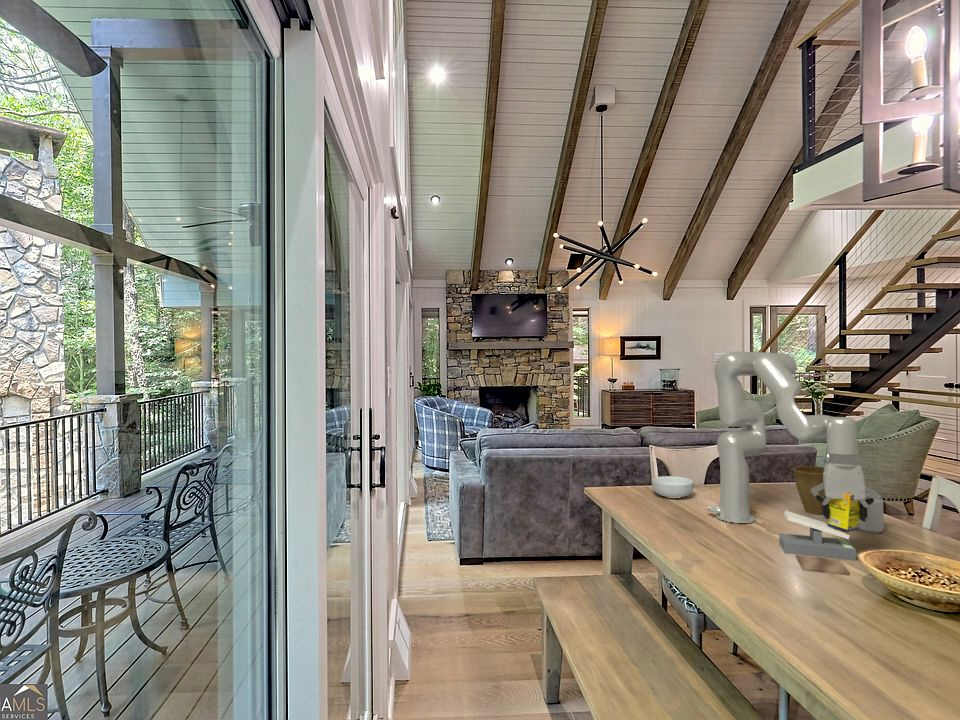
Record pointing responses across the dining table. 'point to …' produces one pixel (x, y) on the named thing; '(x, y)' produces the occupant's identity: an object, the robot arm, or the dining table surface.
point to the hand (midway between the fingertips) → (844, 519)
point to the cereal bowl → (672, 486)
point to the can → (873, 517)
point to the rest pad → (822, 565)
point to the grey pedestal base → (817, 545)
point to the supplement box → (844, 513)
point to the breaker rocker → (815, 524)
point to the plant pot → (809, 487)
